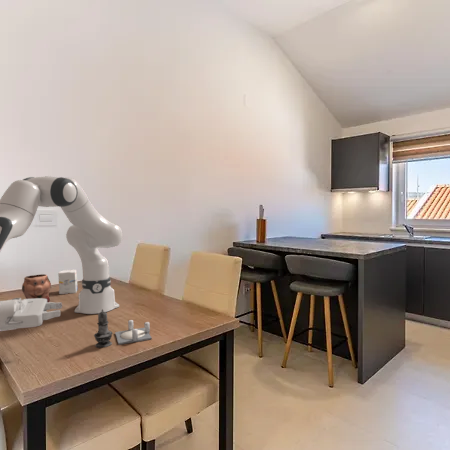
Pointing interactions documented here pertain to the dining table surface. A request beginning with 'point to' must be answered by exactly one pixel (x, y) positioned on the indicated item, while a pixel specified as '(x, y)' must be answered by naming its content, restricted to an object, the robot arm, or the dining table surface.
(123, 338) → the pin socket board
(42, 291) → the decorative planter
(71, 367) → the dining table surface
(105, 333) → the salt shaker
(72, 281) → the ink box
